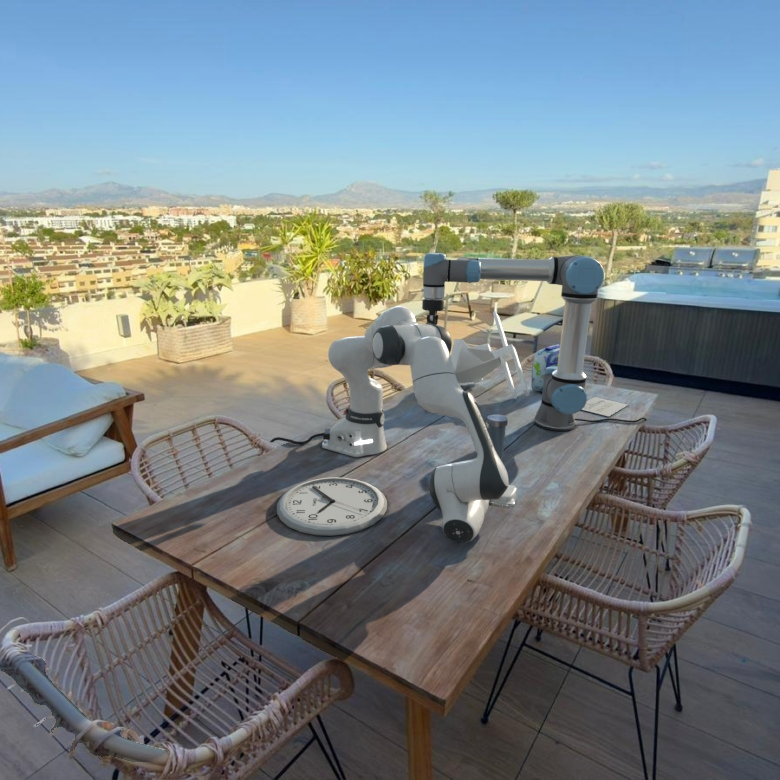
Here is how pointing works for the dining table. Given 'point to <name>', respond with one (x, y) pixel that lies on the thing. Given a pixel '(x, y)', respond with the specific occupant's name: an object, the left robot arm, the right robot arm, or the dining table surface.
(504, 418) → the lid
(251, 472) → the dining table surface
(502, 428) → the bottle
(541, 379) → the lunch box
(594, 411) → the invitation card
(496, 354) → the white plastic object
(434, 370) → the left robot arm
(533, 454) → the dining table surface
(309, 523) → the wall clock
